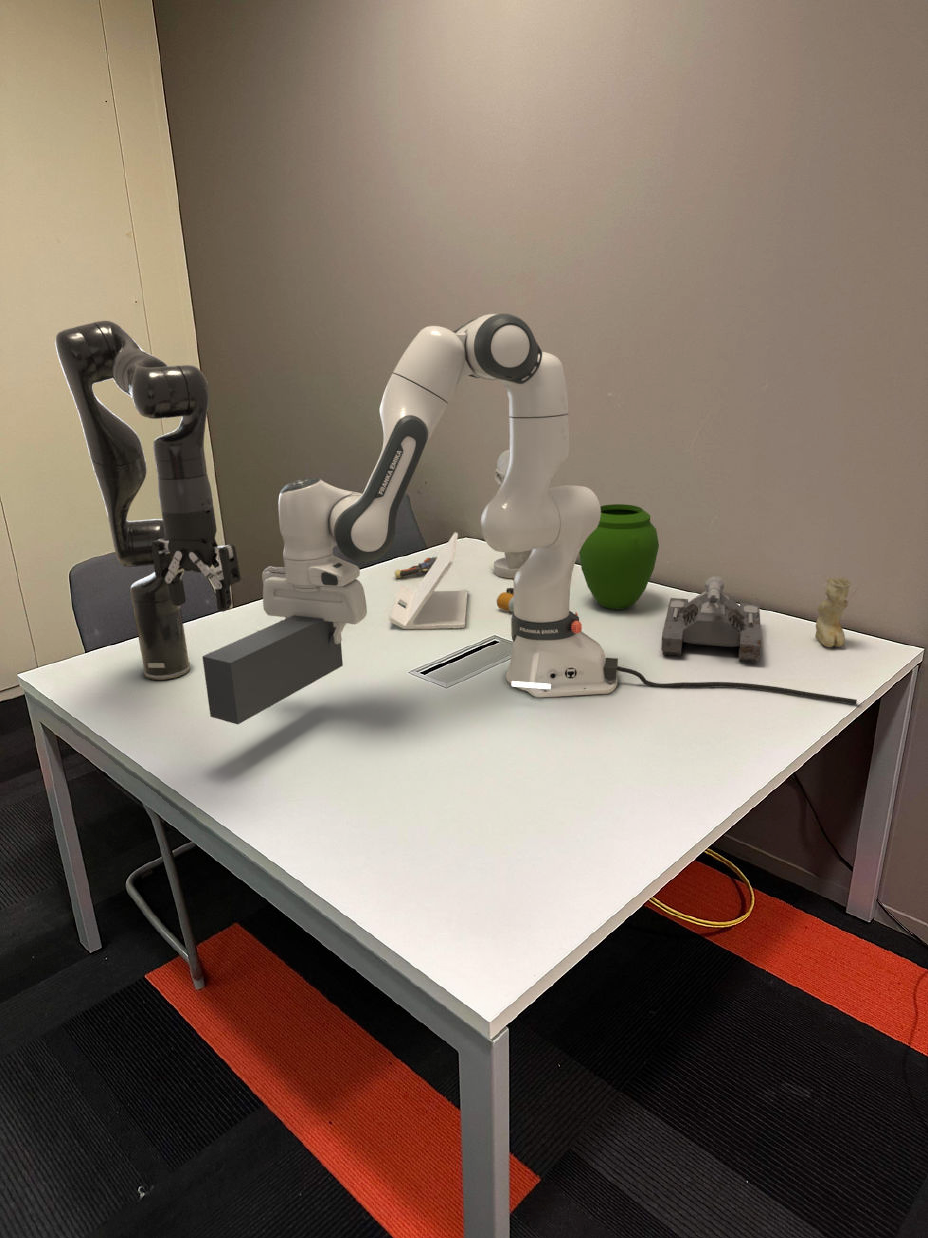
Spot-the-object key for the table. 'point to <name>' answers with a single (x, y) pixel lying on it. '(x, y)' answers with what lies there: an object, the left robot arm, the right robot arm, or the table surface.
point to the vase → (619, 555)
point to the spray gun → (506, 600)
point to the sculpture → (832, 613)
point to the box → (269, 666)
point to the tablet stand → (431, 599)
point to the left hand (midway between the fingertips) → (201, 607)
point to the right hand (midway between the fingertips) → (317, 640)
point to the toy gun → (416, 568)
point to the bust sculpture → (512, 559)
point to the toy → (713, 622)
